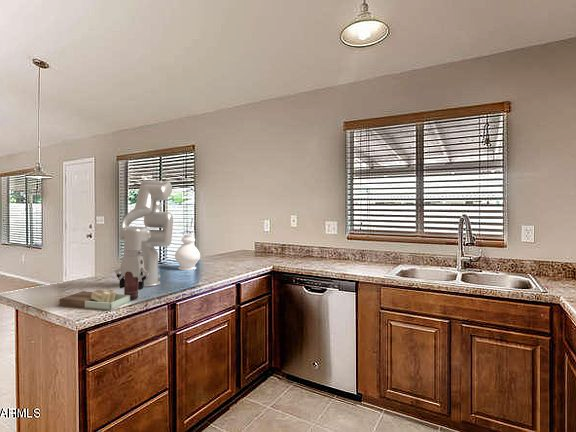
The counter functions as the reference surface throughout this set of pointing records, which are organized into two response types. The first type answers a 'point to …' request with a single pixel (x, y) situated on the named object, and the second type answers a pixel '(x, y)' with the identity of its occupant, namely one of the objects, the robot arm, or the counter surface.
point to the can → (131, 286)
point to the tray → (117, 302)
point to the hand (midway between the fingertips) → (131, 288)
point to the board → (76, 299)
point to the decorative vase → (187, 253)
